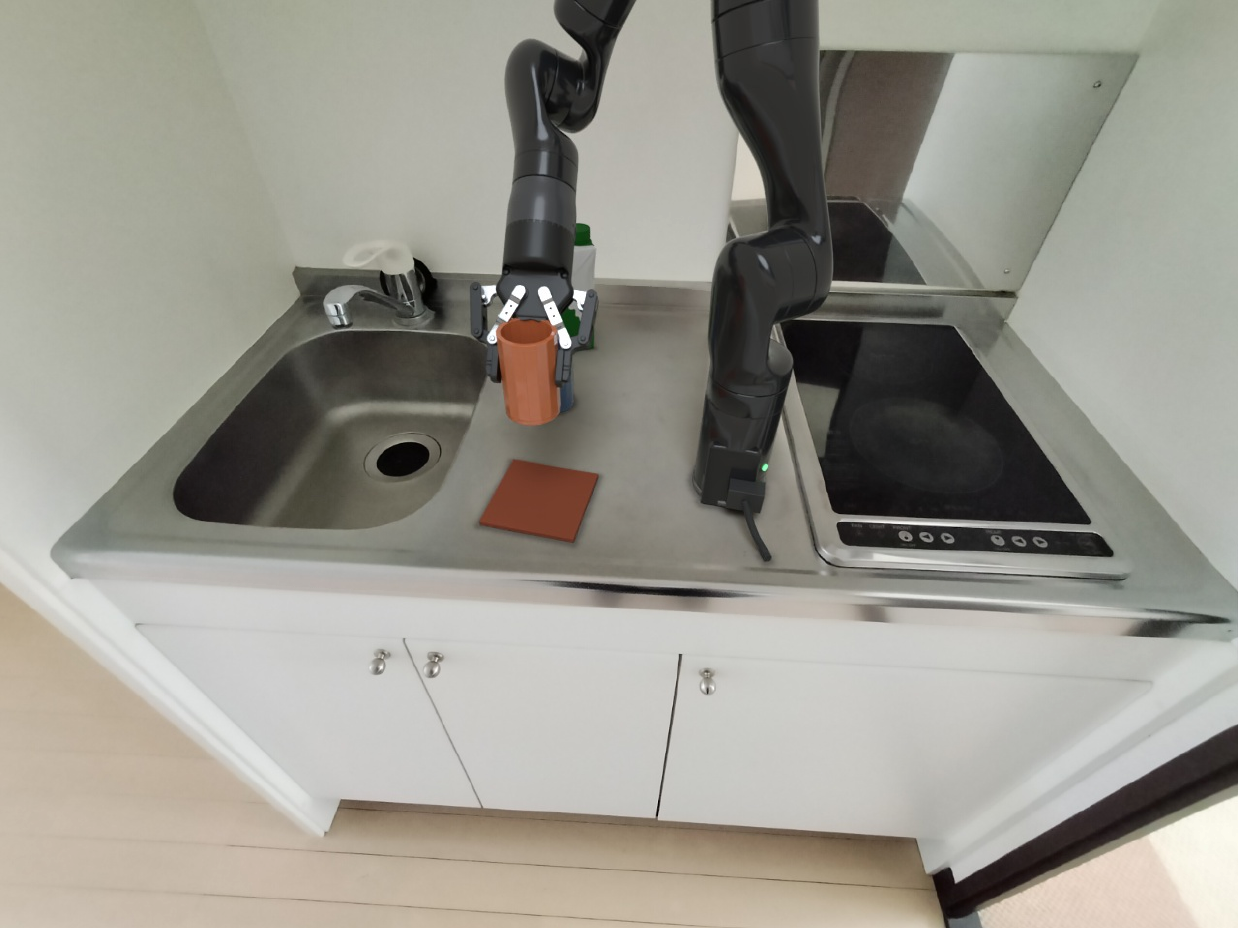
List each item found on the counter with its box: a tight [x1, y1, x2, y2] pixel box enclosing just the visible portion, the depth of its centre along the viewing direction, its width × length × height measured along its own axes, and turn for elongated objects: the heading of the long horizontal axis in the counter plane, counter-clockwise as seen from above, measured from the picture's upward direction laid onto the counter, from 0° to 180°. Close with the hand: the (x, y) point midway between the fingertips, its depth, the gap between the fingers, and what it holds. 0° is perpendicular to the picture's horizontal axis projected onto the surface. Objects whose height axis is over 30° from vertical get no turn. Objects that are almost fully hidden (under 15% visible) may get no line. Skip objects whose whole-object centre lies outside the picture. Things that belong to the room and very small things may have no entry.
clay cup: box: [496, 318, 561, 426], centre depth 65 cm, size 6×6×10 cm
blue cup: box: [557, 338, 575, 414], centre depth 90 cm, size 6×6×10 cm
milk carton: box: [561, 222, 597, 352], centre depth 100 cm, size 9×9×20 cm
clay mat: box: [478, 458, 599, 544], centre depth 77 cm, size 12×12×1 cm
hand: (527, 383), depth 64 cm, fingers closed on clay cup, 6 cm apart
